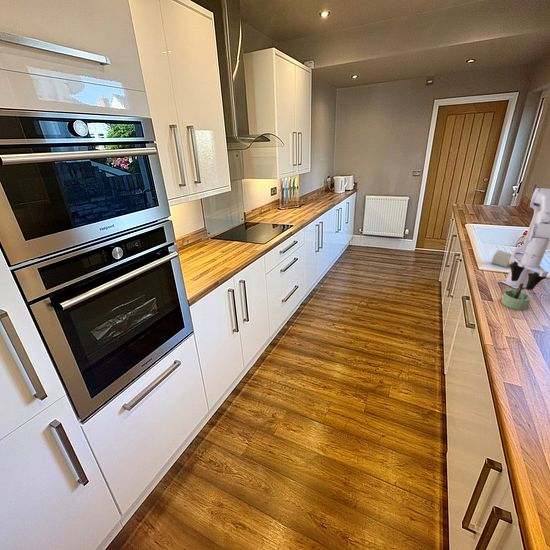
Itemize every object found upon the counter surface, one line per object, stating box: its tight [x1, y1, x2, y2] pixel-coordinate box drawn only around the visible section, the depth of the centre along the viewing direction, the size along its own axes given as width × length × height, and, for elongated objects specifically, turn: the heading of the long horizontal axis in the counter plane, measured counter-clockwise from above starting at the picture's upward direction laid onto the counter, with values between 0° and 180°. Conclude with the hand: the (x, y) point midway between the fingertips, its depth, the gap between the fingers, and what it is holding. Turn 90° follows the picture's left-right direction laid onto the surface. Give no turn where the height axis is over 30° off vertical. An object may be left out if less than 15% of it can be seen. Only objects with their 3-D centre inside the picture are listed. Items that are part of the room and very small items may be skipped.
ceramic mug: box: [491, 249, 512, 268], centre depth 156 cm, size 11×8×8 cm
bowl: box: [500, 289, 532, 311], centre depth 121 cm, size 9×9×4 cm
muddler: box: [515, 283, 524, 299], centre depth 120 cm, size 2×2×9 cm
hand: (521, 284), depth 118 cm, fingers open, 7 cm apart
